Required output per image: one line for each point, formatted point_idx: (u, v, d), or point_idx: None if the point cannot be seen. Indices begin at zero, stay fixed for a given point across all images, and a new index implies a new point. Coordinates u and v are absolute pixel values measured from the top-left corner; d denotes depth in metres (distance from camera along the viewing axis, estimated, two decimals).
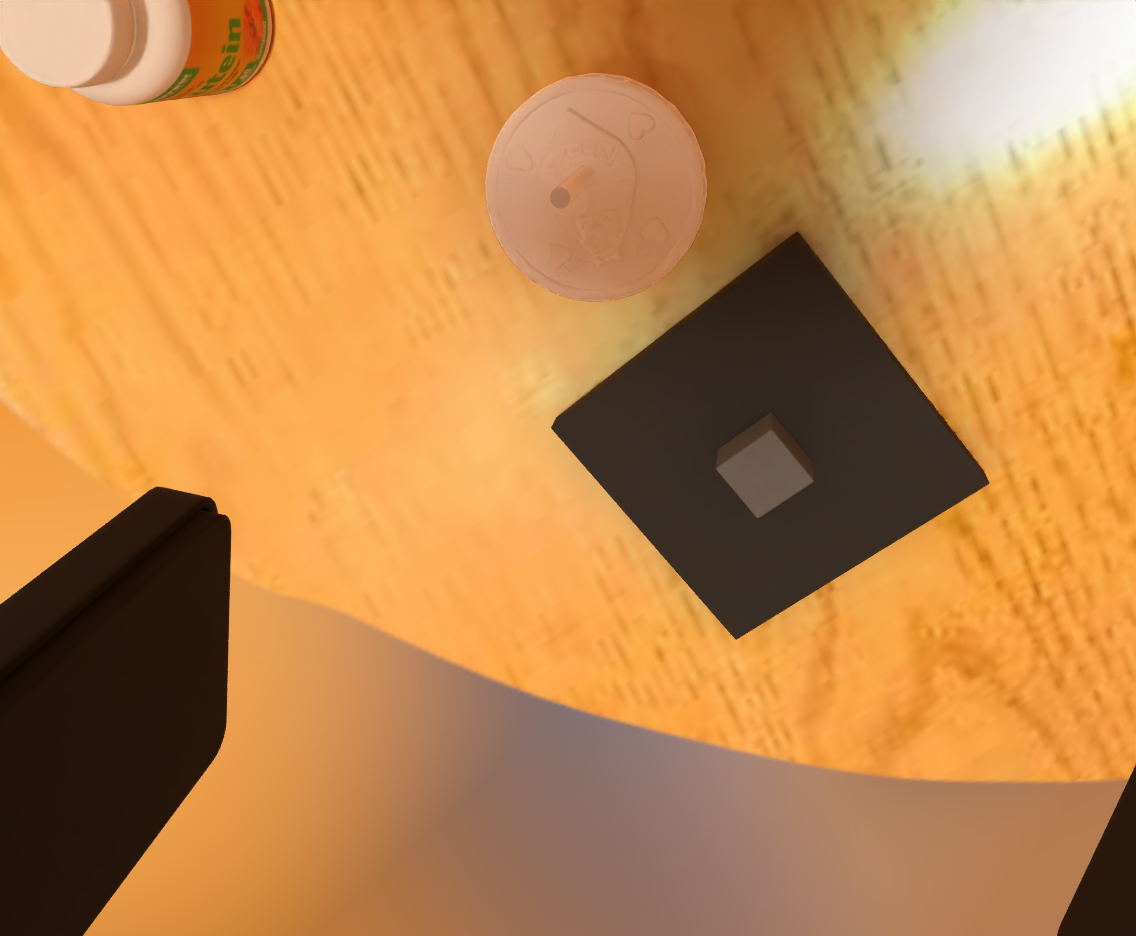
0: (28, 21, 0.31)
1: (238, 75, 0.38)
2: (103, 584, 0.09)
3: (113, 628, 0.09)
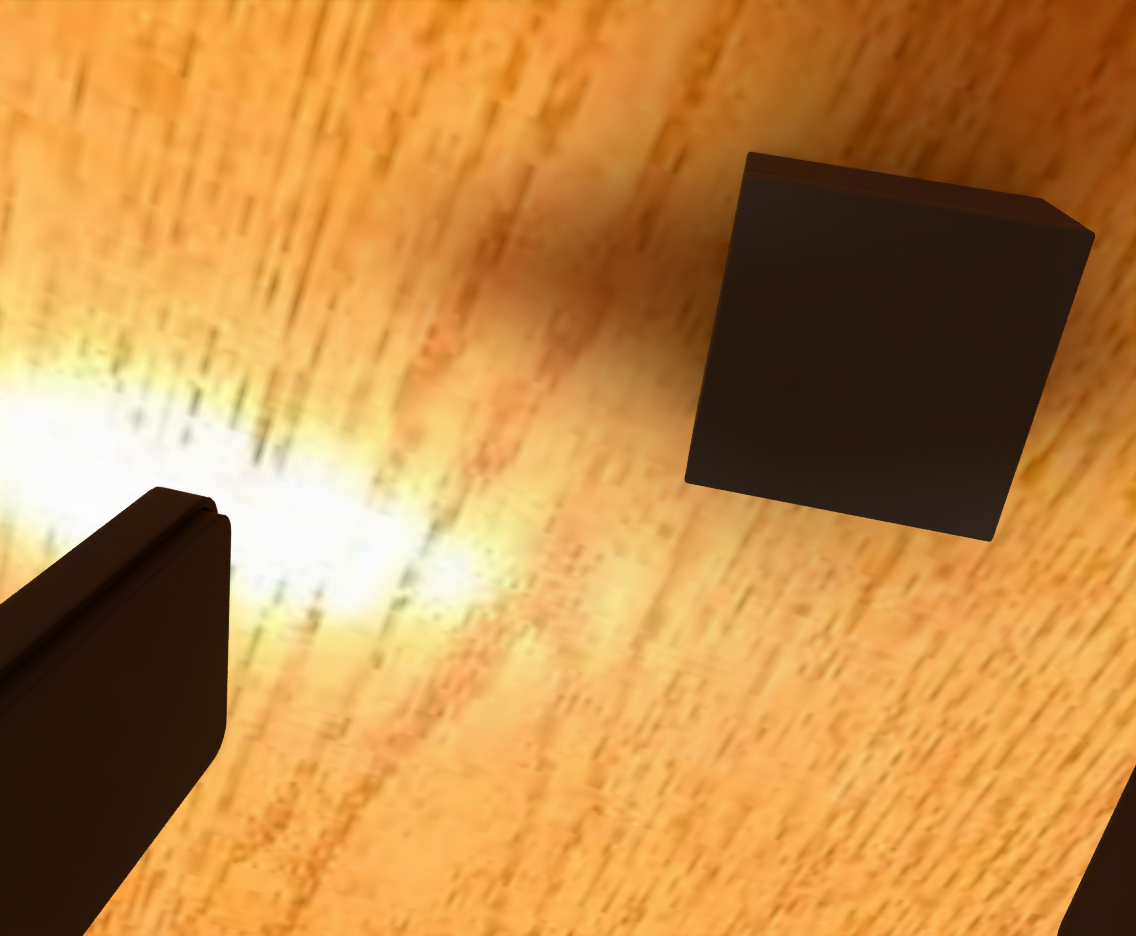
0: None
1: None
2: (102, 584, 0.09)
3: (113, 628, 0.09)
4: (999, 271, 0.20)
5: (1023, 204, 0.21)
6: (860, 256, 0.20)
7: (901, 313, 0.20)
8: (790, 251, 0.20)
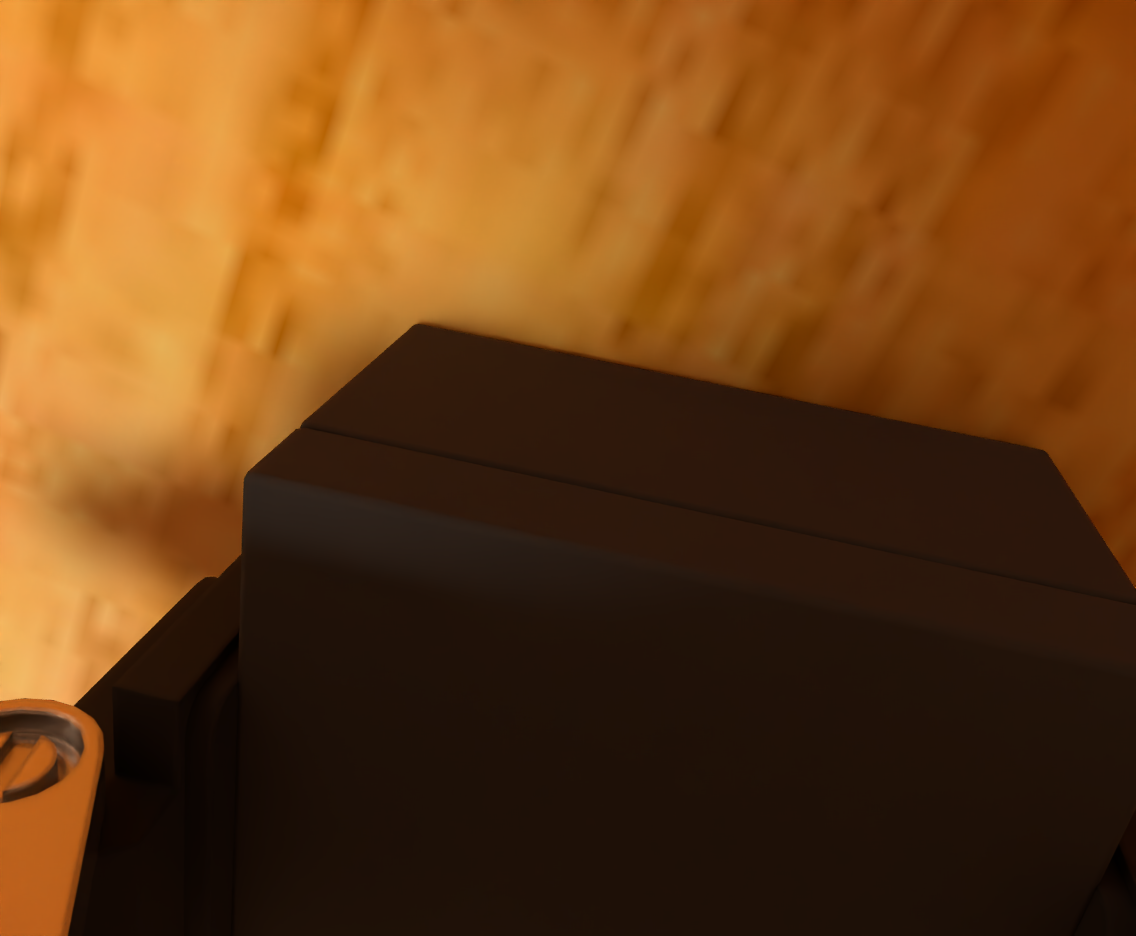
0: None
1: None
2: None
3: None
4: (924, 750, 0.07)
5: (998, 497, 0.09)
6: (558, 685, 0.07)
7: (674, 822, 0.08)
8: (382, 659, 0.08)
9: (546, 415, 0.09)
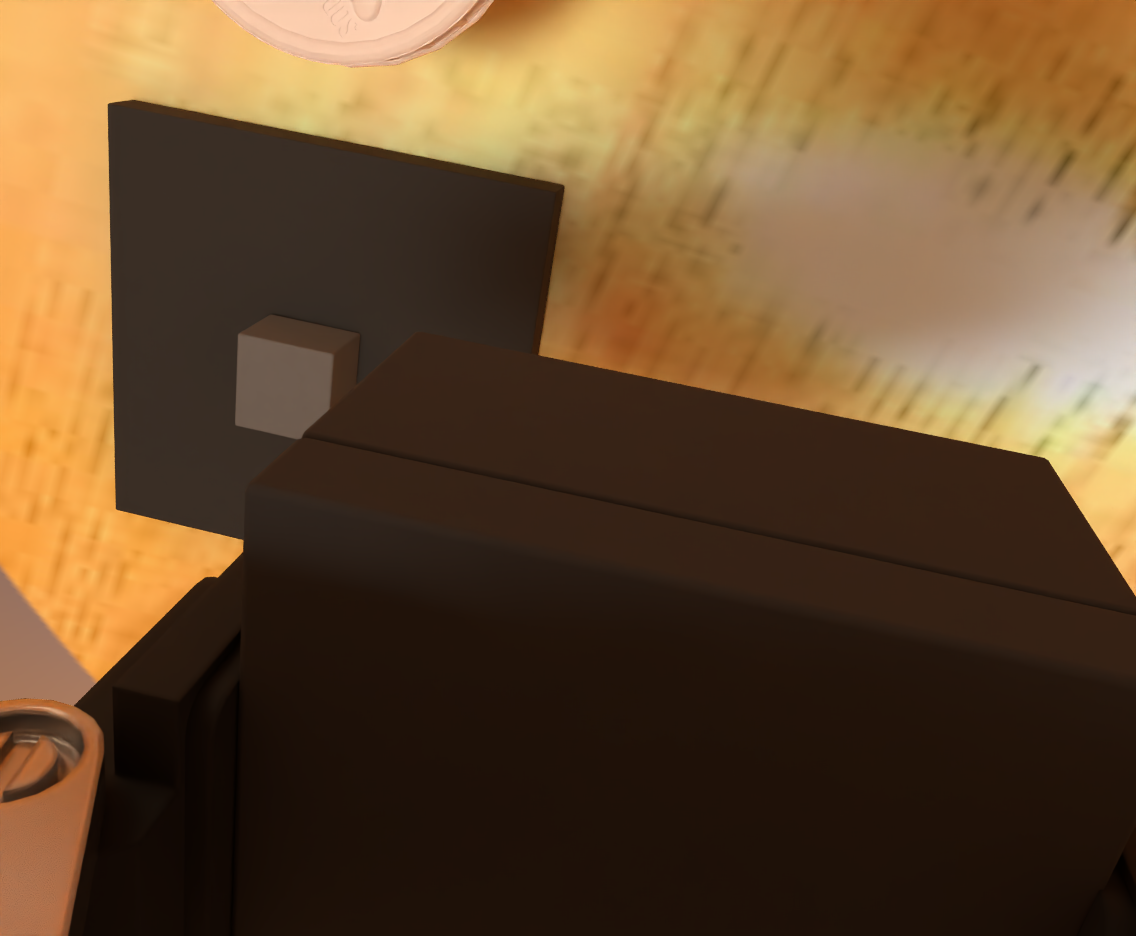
0: None
1: None
2: None
3: None
4: (926, 762, 0.07)
5: (1000, 506, 0.09)
6: (560, 696, 0.07)
7: (675, 832, 0.08)
8: (383, 669, 0.08)
9: (547, 424, 0.09)
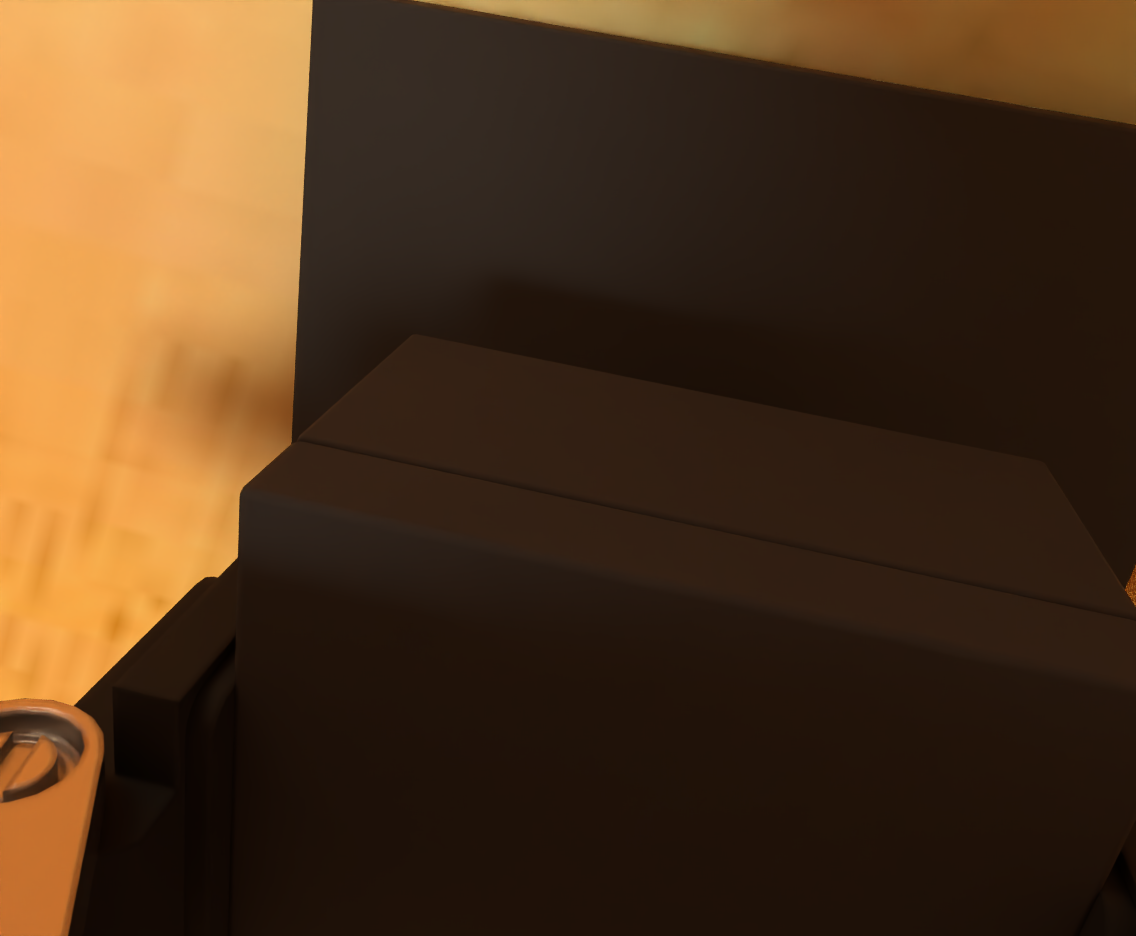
0: None
1: None
2: None
3: None
4: (921, 767, 0.07)
5: (996, 509, 0.09)
6: (555, 700, 0.07)
7: (671, 836, 0.08)
8: (378, 674, 0.08)
9: (543, 427, 0.09)
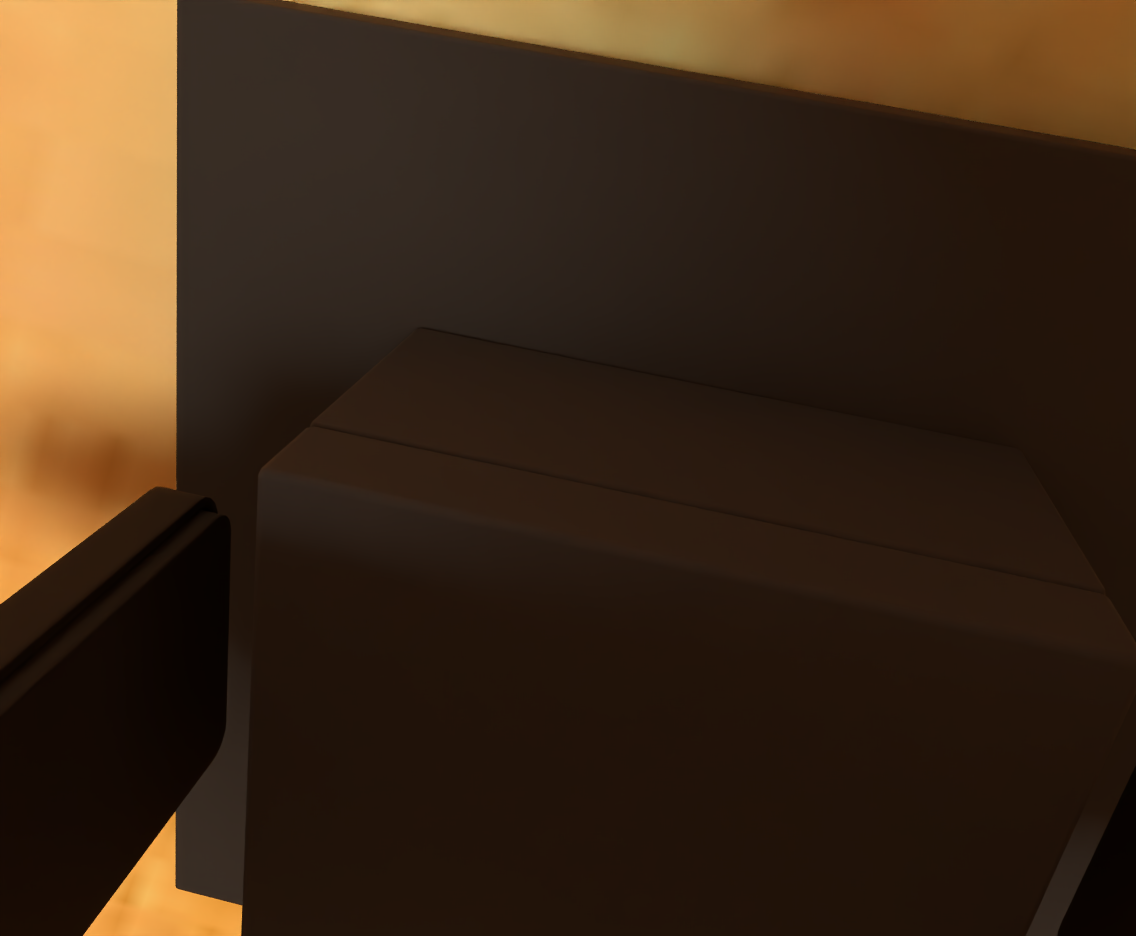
0: None
1: None
2: (103, 584, 0.09)
3: (113, 628, 0.09)
4: (897, 728, 0.08)
5: (972, 492, 0.09)
6: (554, 668, 0.08)
7: (664, 798, 0.08)
8: (388, 644, 0.08)
9: (543, 415, 0.10)
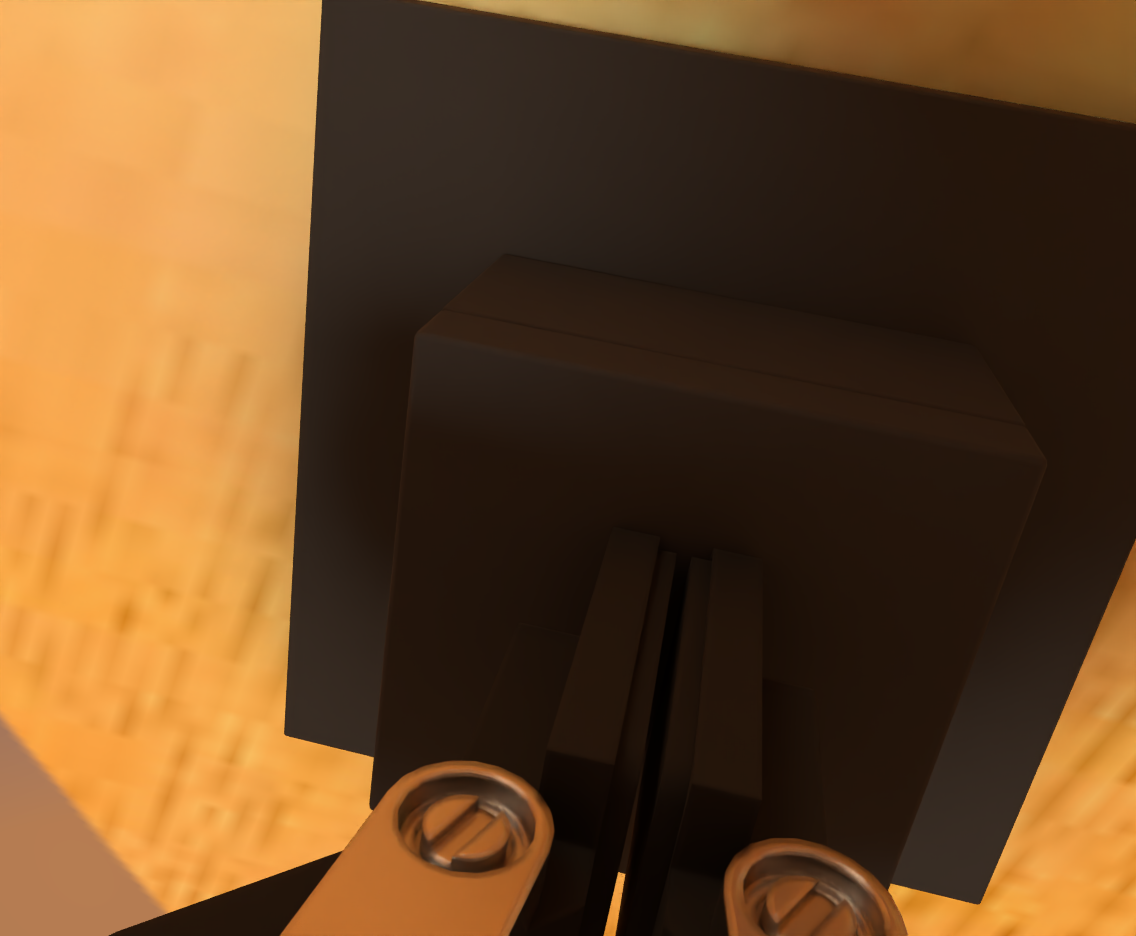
0: None
1: None
2: (631, 621, 0.10)
3: None
4: (872, 516, 0.11)
5: (933, 368, 0.12)
6: (626, 478, 0.11)
7: None
8: (504, 463, 0.11)
9: (609, 310, 0.13)
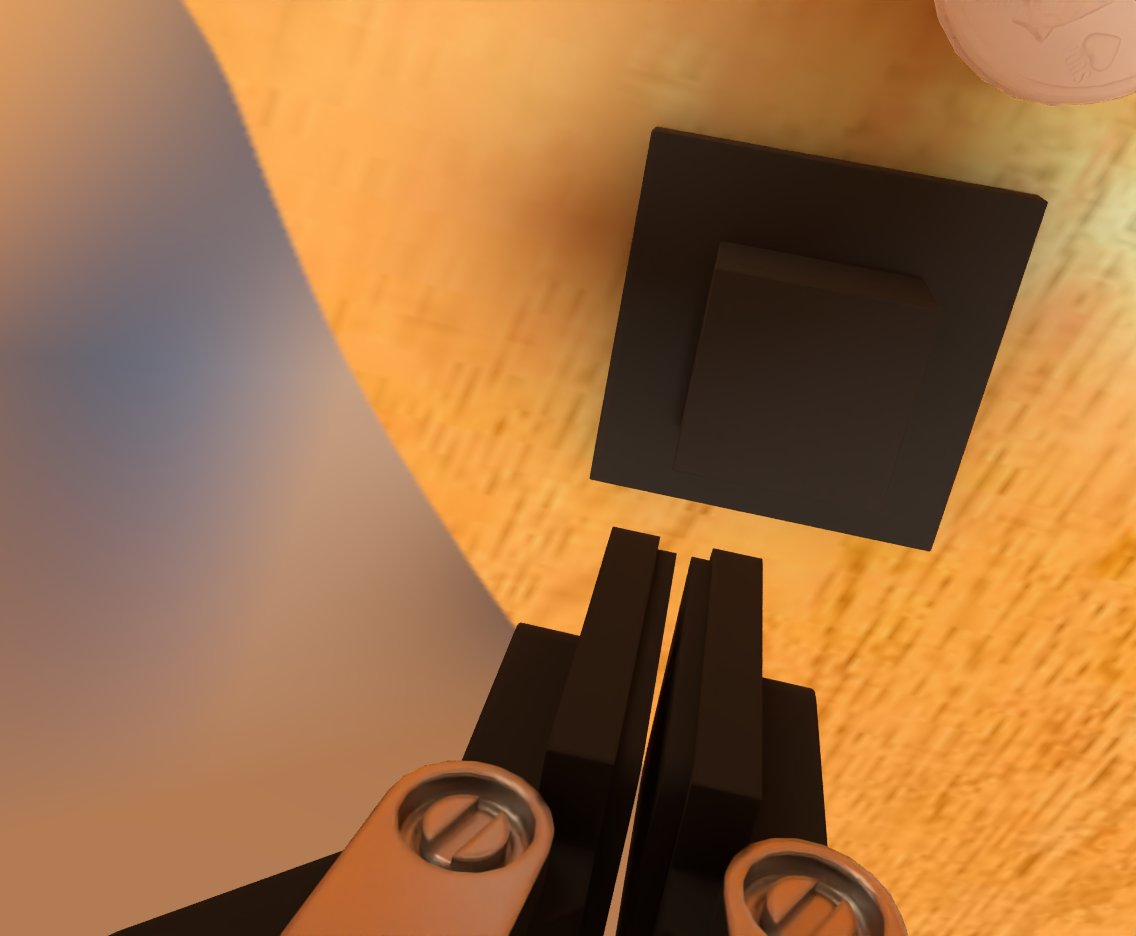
0: None
1: None
2: (632, 622, 0.10)
3: None
4: (881, 333, 0.30)
5: (904, 285, 0.32)
6: (791, 321, 0.30)
7: (818, 359, 0.30)
8: (745, 316, 0.30)
9: (775, 262, 0.32)
